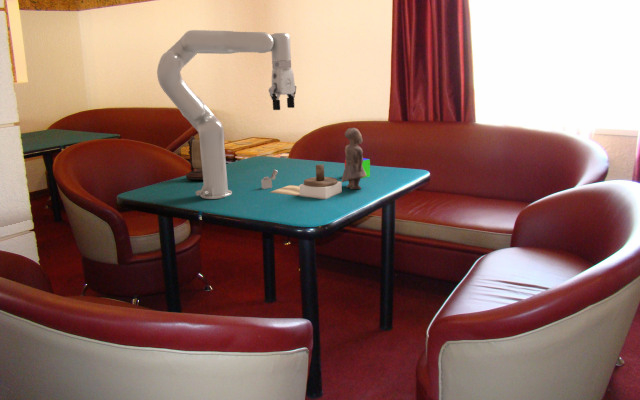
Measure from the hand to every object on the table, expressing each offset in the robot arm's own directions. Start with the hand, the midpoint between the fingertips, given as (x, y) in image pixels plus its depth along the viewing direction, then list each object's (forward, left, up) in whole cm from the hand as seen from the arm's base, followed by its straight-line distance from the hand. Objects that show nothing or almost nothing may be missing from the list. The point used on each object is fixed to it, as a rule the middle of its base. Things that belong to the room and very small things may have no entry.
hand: (283, 108), depth 228 cm
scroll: (0, +49, -34) cm, 59 cm away
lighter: (-3, +7, -34) cm, 34 cm away
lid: (-4, -19, -28) cm, 34 cm away
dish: (-4, -19, -33) cm, 39 cm away
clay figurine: (+12, -25, -34) cm, 43 cm away
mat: (-3, -5, -33) cm, 34 cm away
